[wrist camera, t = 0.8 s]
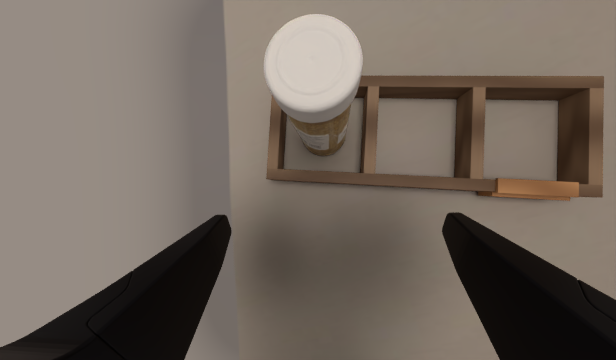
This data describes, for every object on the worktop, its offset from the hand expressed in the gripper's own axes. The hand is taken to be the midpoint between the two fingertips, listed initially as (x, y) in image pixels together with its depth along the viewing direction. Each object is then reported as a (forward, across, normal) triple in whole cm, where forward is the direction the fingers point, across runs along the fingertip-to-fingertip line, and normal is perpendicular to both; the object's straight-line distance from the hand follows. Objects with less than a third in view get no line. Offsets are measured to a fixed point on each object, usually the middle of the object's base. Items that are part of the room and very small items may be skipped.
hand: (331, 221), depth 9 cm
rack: (+15, -8, +2) cm, 17 cm away
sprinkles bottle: (+15, +1, +2) cm, 15 cm away
